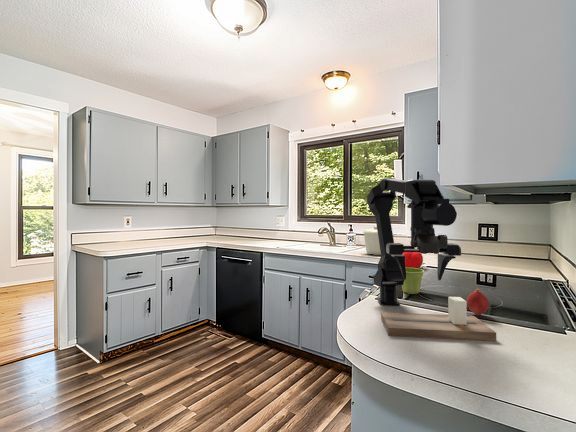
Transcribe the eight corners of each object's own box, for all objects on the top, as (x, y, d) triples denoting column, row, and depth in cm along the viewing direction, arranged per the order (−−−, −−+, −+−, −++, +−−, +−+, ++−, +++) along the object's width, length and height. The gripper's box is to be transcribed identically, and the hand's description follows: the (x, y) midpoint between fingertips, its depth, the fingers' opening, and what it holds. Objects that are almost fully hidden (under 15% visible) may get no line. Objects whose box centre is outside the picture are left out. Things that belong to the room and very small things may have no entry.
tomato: (407, 270, 161) (407, 251, 161) (397, 266, 174) (397, 248, 174) (428, 270, 162) (428, 250, 162) (417, 266, 174) (417, 248, 174)
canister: (381, 257, 210) (381, 226, 209) (358, 254, 222) (358, 225, 222) (393, 254, 223) (393, 225, 222) (370, 252, 235) (370, 224, 235)
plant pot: (428, 295, 113) (428, 272, 113) (401, 295, 114) (401, 272, 114) (419, 289, 123) (419, 267, 123) (395, 288, 124) (395, 267, 124)
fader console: (381, 319, 89) (381, 311, 89) (473, 323, 86) (473, 315, 86) (388, 335, 77) (388, 326, 77) (496, 340, 74) (496, 331, 74)
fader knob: (448, 318, 83) (448, 296, 83) (460, 319, 82) (460, 297, 82) (454, 324, 79) (454, 301, 79) (466, 324, 78) (466, 301, 78)
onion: (462, 312, 95) (462, 286, 95) (479, 311, 95) (480, 286, 95) (474, 318, 89) (474, 291, 89) (493, 318, 89) (493, 290, 89)
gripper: (392, 225, 80) (393, 285, 80) (470, 225, 77) (470, 287, 77) (385, 223, 91) (385, 276, 91) (453, 223, 88) (453, 278, 88)
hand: (421, 279), depth 87 cm, fingers open, 9 cm apart
